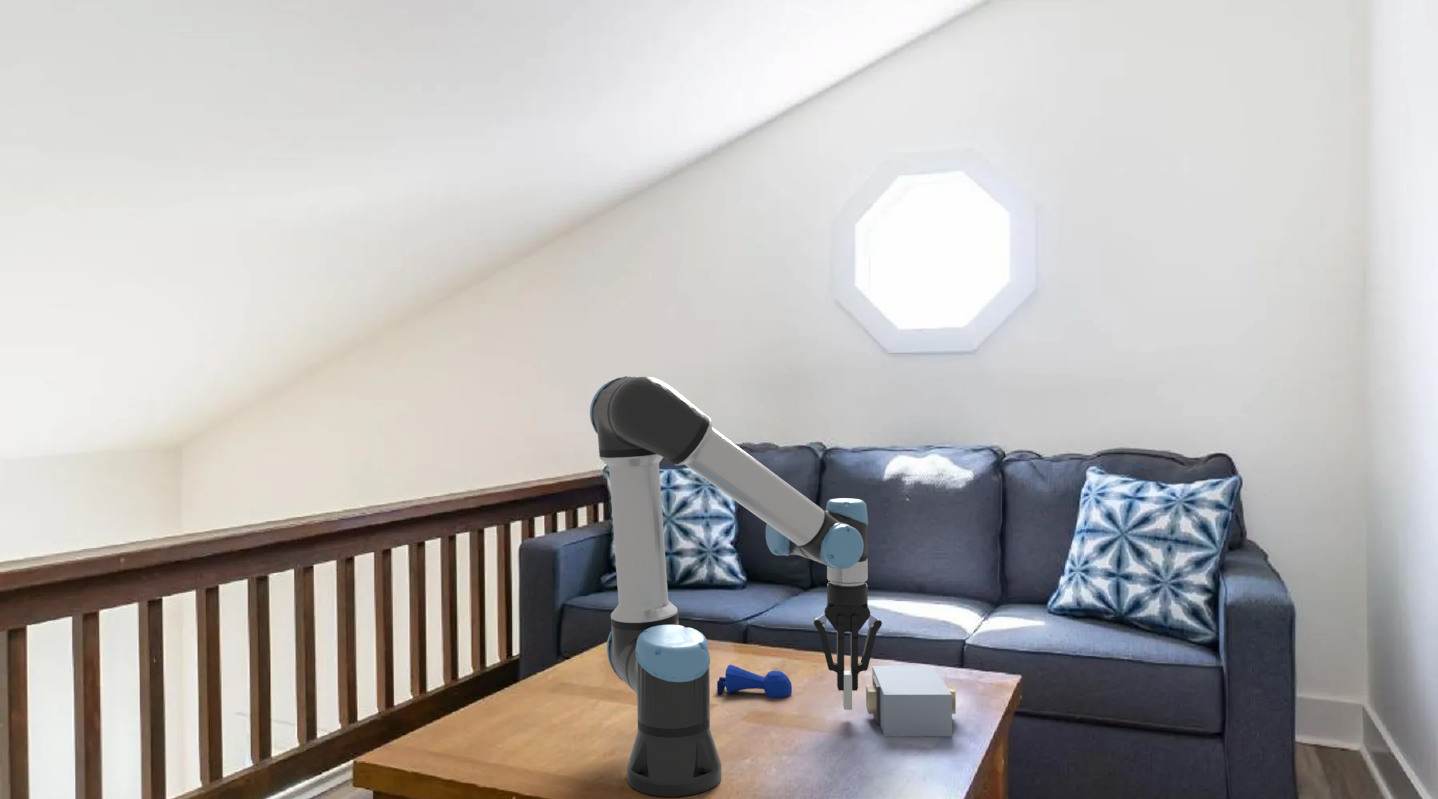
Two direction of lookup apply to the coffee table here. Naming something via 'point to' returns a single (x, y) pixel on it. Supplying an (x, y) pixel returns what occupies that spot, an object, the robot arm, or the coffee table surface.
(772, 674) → the toy
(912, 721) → the sleeve block
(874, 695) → the peg
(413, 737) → the coffee table surface
